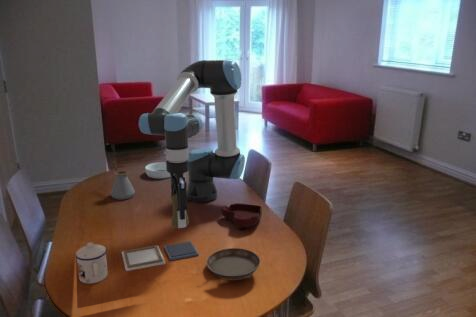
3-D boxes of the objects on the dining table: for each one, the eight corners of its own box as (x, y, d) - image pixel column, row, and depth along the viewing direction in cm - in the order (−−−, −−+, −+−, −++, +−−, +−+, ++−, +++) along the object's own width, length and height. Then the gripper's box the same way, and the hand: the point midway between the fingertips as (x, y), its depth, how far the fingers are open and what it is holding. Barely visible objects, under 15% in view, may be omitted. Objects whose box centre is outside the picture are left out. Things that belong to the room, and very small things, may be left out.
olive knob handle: (185, 228, 141) (184, 198, 138) (169, 226, 142) (167, 196, 139) (191, 221, 146) (190, 192, 144) (175, 219, 148) (173, 190, 145)
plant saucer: (218, 288, 125) (217, 280, 124) (199, 261, 141) (199, 253, 140) (269, 276, 132) (269, 267, 131) (246, 251, 147) (246, 244, 147)
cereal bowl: (150, 185, 218) (149, 172, 216) (142, 176, 232) (141, 164, 230) (181, 180, 225) (180, 168, 224) (171, 172, 240) (170, 160, 238)
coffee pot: (138, 199, 197) (136, 169, 193) (113, 204, 192) (111, 173, 188) (126, 186, 215) (124, 159, 211) (104, 190, 210) (101, 162, 206)
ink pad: (191, 243, 153) (191, 240, 153) (198, 255, 144) (198, 252, 144) (164, 247, 150) (164, 244, 149) (170, 260, 141) (170, 257, 140)
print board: (158, 246, 150) (158, 244, 150) (165, 263, 139) (165, 260, 138) (121, 253, 146) (121, 250, 146) (125, 271, 134) (125, 268, 134)
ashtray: (273, 223, 170) (273, 212, 169) (239, 232, 162) (239, 221, 161) (250, 209, 185) (250, 199, 184) (218, 217, 177) (218, 206, 176)
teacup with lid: (76, 273, 133) (72, 240, 130) (105, 266, 137) (102, 234, 134) (82, 292, 123) (78, 257, 120) (113, 284, 127) (110, 250, 124)
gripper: (160, 154, 145) (163, 215, 151) (172, 168, 128) (175, 236, 134) (181, 152, 148) (183, 212, 154) (195, 166, 131) (197, 232, 137)
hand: (179, 223), depth 144 cm, fingers closed on olive knob handle, 6 cm apart
